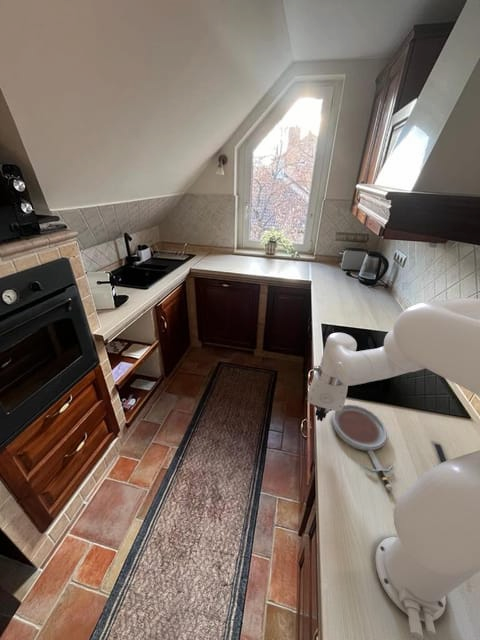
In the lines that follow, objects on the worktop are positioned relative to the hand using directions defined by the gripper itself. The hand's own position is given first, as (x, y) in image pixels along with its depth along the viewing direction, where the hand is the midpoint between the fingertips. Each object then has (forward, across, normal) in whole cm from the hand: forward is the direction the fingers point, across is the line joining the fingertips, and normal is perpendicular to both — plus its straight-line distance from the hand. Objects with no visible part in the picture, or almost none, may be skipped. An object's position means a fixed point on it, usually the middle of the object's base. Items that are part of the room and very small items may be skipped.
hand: (319, 417), depth 81 cm
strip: (+6, +37, +2) cm, 37 cm away
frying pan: (+6, +15, 0) cm, 16 cm away
